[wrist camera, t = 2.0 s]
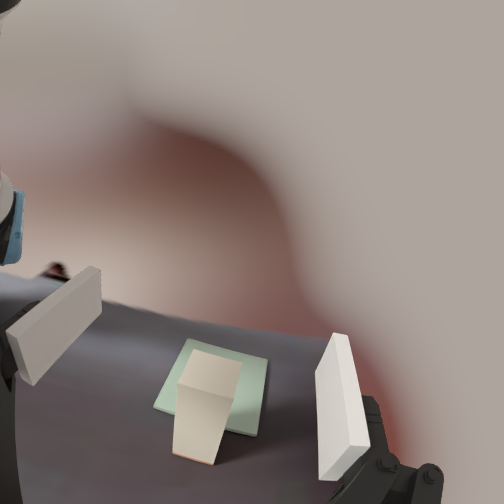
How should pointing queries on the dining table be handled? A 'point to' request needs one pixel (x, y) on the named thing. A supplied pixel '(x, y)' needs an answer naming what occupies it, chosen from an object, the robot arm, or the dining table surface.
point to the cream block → (203, 405)
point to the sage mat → (247, 391)
